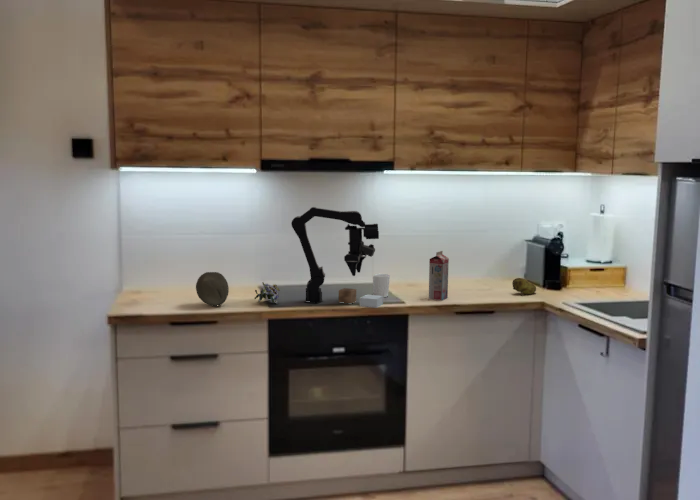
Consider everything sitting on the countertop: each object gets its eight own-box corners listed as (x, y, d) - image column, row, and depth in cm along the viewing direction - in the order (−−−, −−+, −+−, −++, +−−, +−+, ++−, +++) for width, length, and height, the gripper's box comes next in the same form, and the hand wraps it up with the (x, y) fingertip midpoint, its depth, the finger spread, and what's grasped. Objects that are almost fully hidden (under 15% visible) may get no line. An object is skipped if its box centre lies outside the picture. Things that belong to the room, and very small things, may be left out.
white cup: (379, 298, 305) (379, 277, 304) (369, 295, 312) (369, 274, 311) (392, 296, 310) (393, 275, 308) (382, 293, 316) (383, 273, 315)
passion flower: (275, 316, 293) (280, 297, 285) (251, 312, 291) (255, 293, 283) (277, 297, 301) (282, 279, 294) (253, 293, 300) (257, 275, 292)
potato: (540, 295, 315) (541, 278, 314) (515, 296, 313) (515, 279, 312) (533, 292, 323) (534, 275, 322) (508, 292, 321) (509, 276, 320)
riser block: (359, 306, 289) (359, 297, 289) (366, 303, 297) (366, 294, 296) (376, 308, 286) (377, 299, 286) (382, 304, 294) (383, 295, 293)
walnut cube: (338, 303, 294) (338, 290, 294) (344, 301, 300) (344, 288, 299) (351, 304, 292) (351, 291, 291) (356, 302, 297) (356, 289, 297)
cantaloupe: (232, 302, 294) (231, 269, 292) (225, 309, 280) (224, 275, 278) (200, 302, 295) (199, 269, 292) (192, 309, 281) (191, 274, 278)
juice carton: (447, 298, 307) (448, 251, 304) (441, 300, 302) (443, 252, 299) (434, 296, 311) (435, 250, 308) (428, 299, 305) (429, 251, 302)
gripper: (368, 242, 283) (369, 278, 285) (377, 237, 300) (378, 271, 303) (343, 242, 285) (344, 277, 287) (353, 237, 303) (354, 270, 305)
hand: (356, 274), depth 296 cm, fingers open, 9 cm apart
